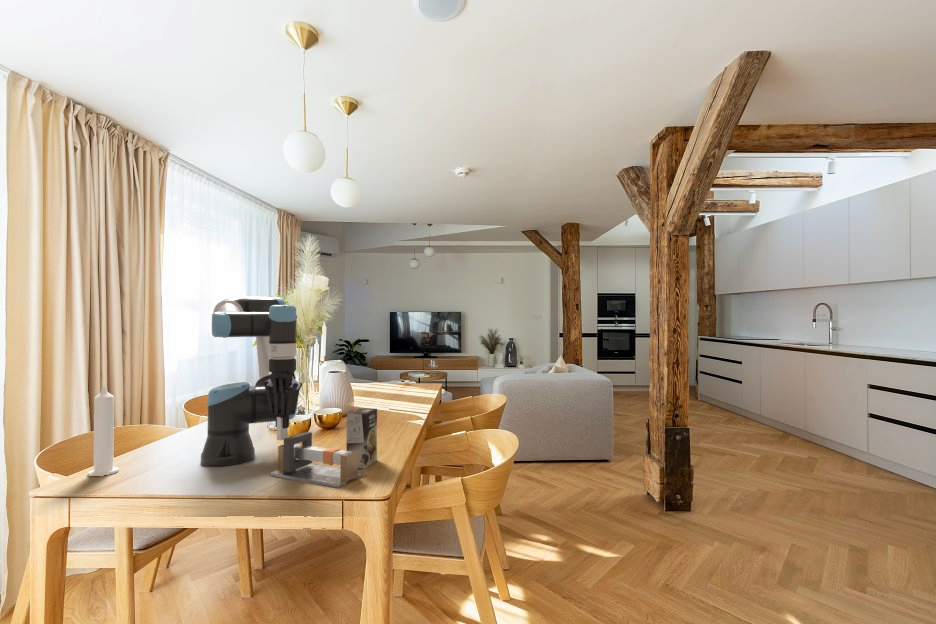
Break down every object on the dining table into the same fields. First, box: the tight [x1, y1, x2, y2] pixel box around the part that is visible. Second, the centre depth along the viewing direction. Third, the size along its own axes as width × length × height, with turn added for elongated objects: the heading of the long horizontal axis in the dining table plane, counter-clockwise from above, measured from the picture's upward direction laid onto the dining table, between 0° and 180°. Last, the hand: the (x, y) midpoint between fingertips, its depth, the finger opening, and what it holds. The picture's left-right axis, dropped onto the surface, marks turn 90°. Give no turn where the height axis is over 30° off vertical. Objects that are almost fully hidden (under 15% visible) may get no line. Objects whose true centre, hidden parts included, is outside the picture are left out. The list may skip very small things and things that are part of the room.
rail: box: [269, 443, 365, 489], centre depth 137 cm, size 24×11×8 cm, turn 66°
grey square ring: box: [283, 431, 313, 472], centre depth 140 cm, size 2×9×9 cm, turn 156°
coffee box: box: [345, 407, 378, 469], centre depth 148 cm, size 9×6×16 cm
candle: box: [87, 384, 120, 477], centre depth 139 cm, size 7×7×25 cm
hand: (282, 438), depth 142 cm, fingers closed
